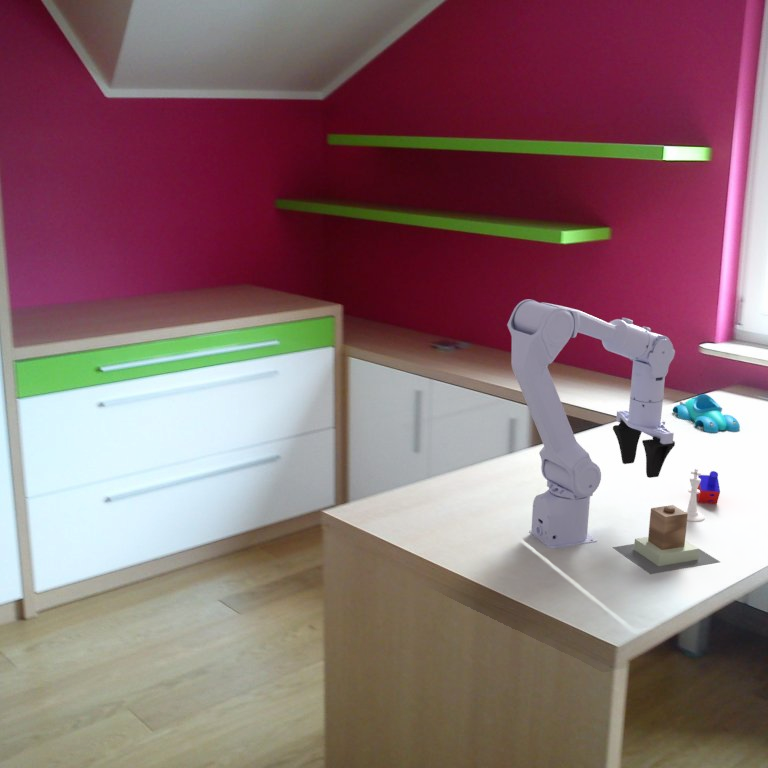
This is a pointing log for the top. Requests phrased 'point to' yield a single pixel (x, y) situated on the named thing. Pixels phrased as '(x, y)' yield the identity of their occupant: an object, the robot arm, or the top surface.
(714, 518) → the top surface
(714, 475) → the toy building block
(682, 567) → the build mat
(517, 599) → the top surface
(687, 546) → the base block
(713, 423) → the toy car
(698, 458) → the top surface
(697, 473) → the chess piece
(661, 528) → the walnut snap block
